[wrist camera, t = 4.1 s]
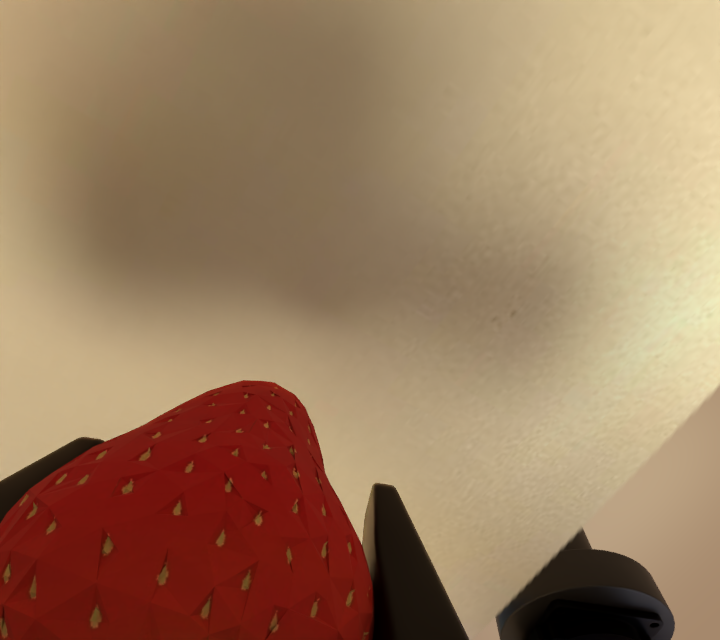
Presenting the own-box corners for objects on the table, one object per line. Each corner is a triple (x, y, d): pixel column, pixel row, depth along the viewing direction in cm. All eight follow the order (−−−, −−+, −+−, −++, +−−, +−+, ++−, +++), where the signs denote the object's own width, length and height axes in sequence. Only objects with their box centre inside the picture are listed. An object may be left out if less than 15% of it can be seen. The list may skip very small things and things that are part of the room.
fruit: (277, 514, 12) (120, 1127, 5) (106, 395, 10) (-493, 1058, 3) (424, 417, 10) (506, 1174, 3) (243, 254, 9) (-449, 1071, 1)
